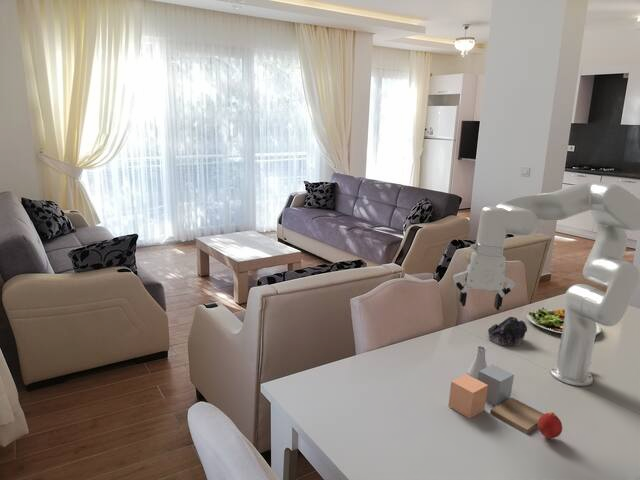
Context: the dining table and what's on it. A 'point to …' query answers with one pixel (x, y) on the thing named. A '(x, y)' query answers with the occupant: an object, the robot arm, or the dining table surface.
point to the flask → (477, 362)
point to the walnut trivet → (517, 414)
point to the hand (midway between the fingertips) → (479, 306)
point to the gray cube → (496, 383)
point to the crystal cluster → (508, 332)
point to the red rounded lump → (550, 425)
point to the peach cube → (468, 395)
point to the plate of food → (550, 319)
